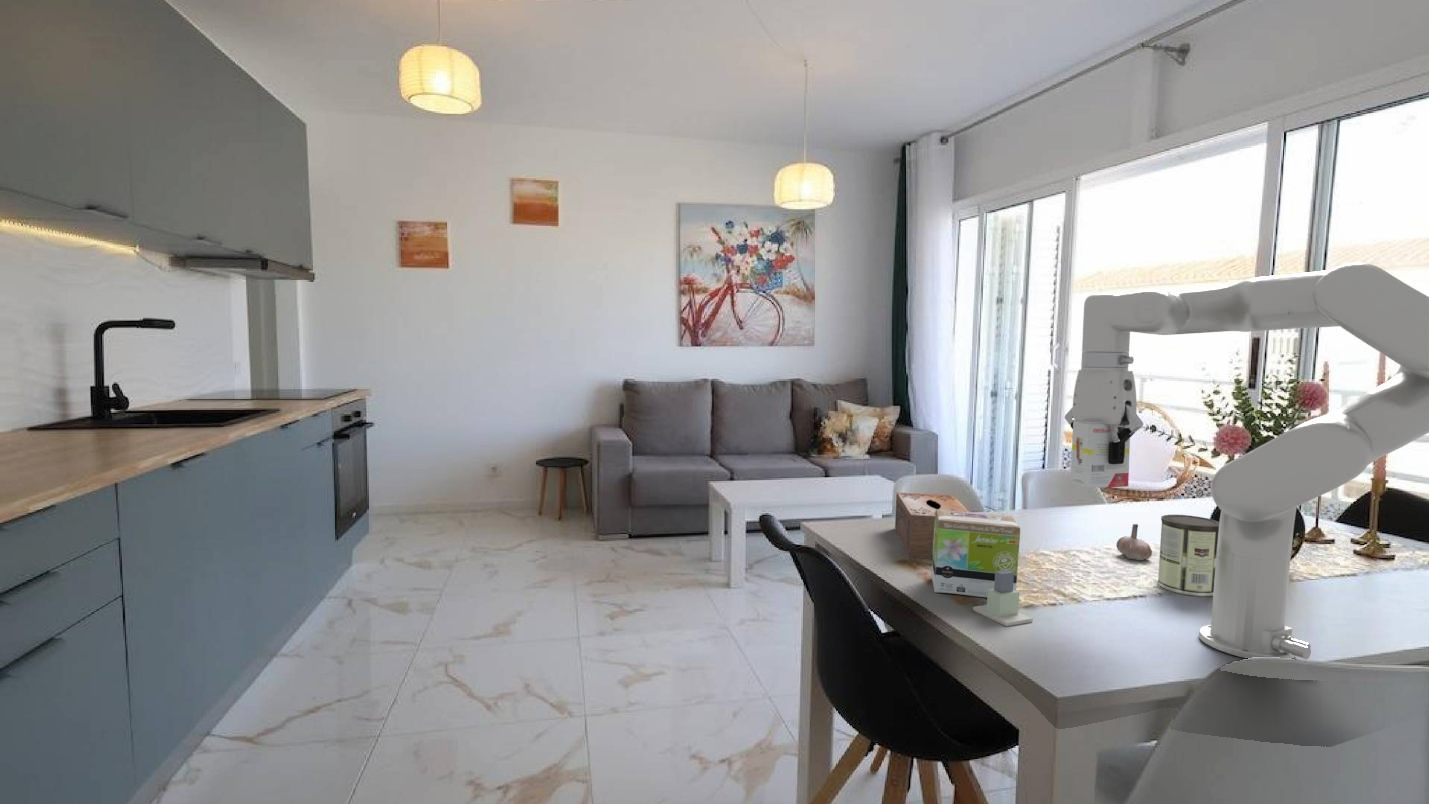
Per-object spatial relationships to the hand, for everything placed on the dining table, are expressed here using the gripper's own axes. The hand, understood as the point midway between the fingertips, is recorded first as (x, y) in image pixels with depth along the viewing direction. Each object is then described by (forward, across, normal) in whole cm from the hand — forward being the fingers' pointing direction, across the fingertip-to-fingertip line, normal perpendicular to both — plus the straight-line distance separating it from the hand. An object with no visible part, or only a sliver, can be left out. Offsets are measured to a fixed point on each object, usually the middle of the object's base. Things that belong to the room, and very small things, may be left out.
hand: (1100, 460), depth 130 cm
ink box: (+5, 0, 0) cm, 5 cm away
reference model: (+28, +3, +19) cm, 34 cm away
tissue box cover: (+28, +46, -1) cm, 53 cm away
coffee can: (+28, +2, -29) cm, 40 cm away
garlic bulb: (+28, +21, -39) cm, 52 cm away
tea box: (+28, +16, +14) cm, 35 cm away
